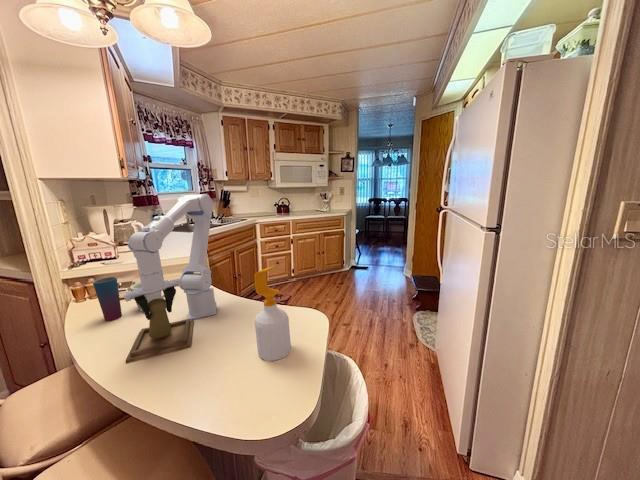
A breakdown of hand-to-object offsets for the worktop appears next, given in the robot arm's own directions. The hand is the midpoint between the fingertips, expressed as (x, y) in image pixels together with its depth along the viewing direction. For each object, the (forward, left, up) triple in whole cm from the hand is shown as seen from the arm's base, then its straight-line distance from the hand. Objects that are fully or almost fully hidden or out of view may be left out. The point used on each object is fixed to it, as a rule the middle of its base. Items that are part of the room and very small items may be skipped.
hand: (159, 314), depth 80 cm
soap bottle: (-30, +21, -9) cm, 38 cm away
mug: (+7, -31, -9) cm, 33 cm away
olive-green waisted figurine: (+1, -1, -6) cm, 7 cm away
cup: (+20, -26, -9) cm, 34 cm away
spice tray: (0, 0, -8) cm, 8 cm away
